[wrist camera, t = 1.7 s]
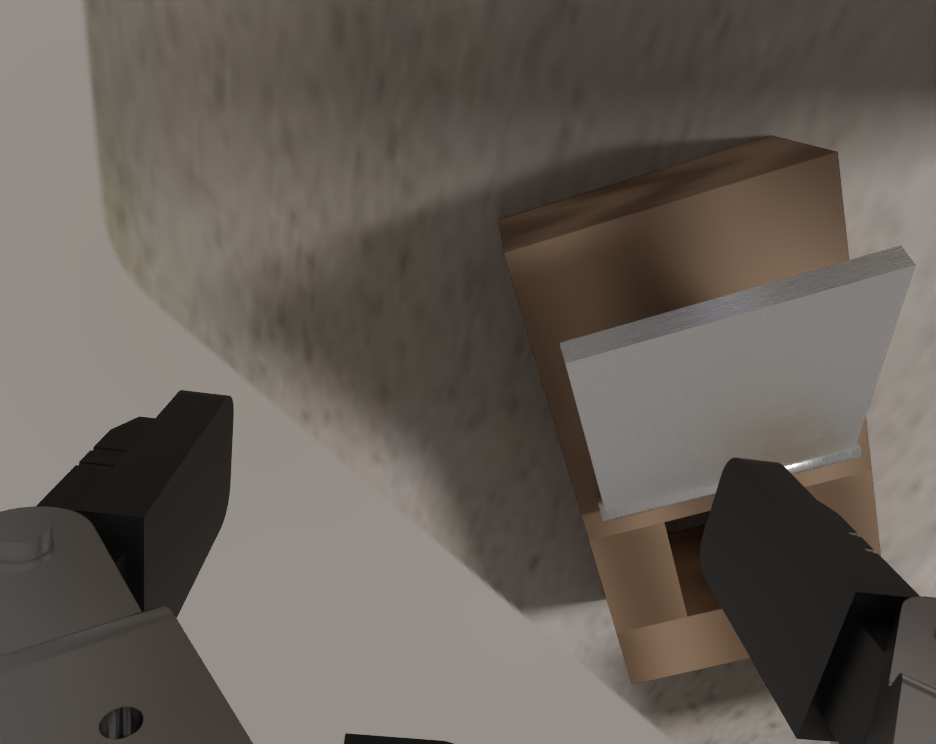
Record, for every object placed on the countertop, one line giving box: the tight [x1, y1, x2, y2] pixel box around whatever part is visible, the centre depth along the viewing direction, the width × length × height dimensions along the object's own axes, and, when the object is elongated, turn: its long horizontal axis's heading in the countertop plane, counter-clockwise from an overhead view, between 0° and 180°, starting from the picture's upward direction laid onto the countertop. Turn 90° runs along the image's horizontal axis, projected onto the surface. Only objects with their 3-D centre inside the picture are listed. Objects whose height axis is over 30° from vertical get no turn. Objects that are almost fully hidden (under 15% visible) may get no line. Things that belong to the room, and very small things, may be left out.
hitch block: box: [498, 136, 881, 684], centre depth 33 cm, size 12×22×6 cm, turn 17°
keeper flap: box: [560, 246, 915, 523], centre depth 25 cm, size 10×12×1 cm
